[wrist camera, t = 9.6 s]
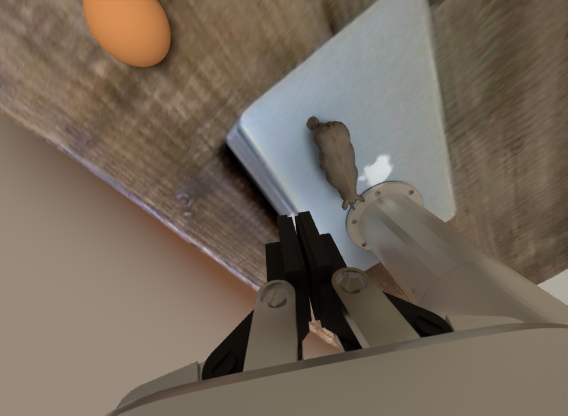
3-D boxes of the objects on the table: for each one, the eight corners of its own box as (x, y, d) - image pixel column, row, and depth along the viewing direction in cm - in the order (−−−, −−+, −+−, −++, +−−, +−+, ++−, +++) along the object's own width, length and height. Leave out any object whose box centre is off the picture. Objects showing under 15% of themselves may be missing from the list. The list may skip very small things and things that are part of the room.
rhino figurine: (332, 206, 35) (347, 228, 30) (300, 121, 28) (313, 130, 23) (356, 195, 34) (376, 215, 29) (331, 106, 28) (351, 112, 22)
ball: (138, -59, 16) (192, 36, 19) (135, -7, 21) (178, 61, 24) (49, -39, 14) (124, 64, 17) (69, 13, 19) (125, 86, 22)
